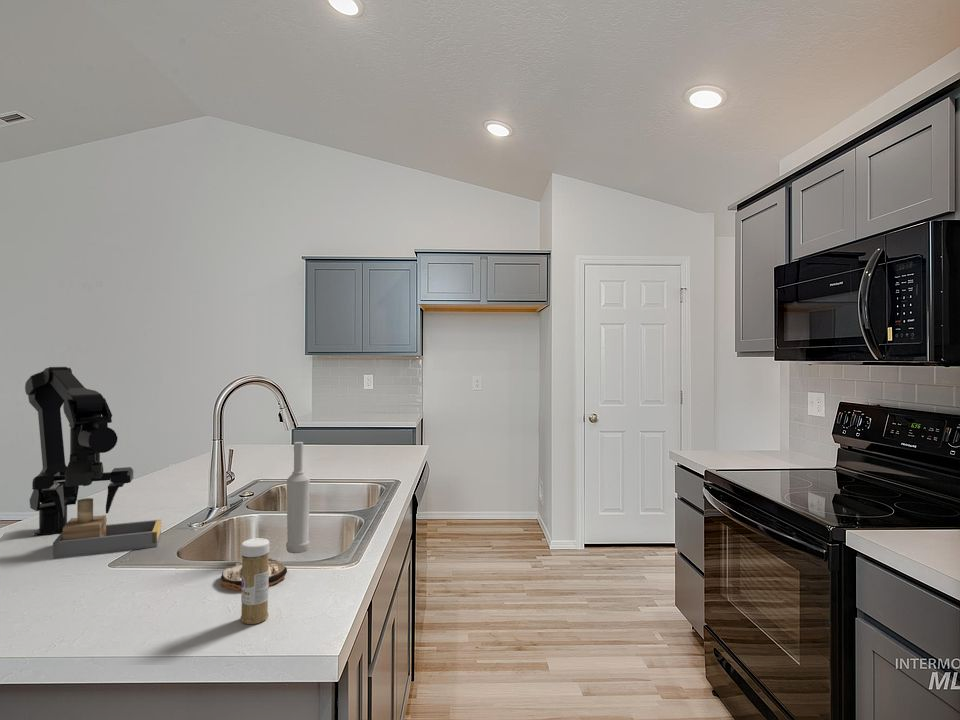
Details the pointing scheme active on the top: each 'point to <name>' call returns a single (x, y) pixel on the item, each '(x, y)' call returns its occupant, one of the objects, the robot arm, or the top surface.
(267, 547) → the sprinkles bottle
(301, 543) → the bottle
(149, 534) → the bay
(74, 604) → the top surface
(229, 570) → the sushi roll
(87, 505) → the tan block with peg
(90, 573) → the top surface
